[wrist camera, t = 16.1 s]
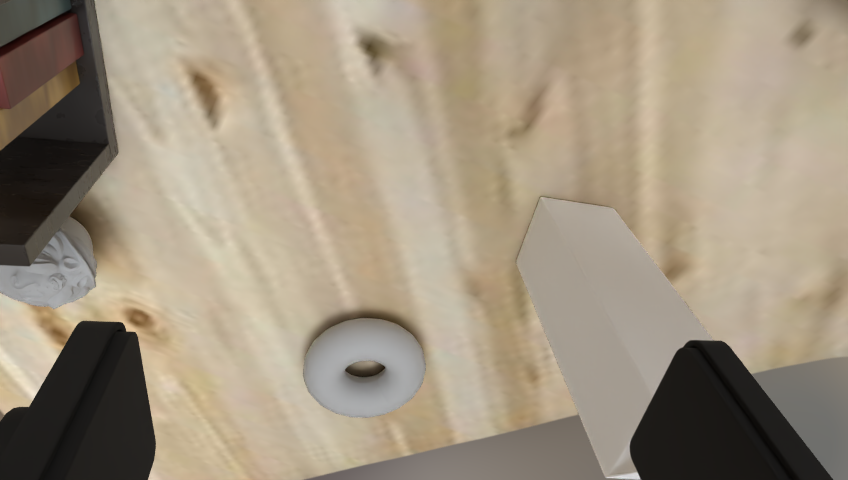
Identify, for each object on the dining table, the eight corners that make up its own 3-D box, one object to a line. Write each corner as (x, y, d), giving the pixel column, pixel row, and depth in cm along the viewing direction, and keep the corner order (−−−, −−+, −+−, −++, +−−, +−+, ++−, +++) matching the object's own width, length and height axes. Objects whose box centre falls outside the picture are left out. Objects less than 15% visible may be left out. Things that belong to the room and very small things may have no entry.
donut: (346, 289, 45) (281, 370, 48) (346, 318, 42) (277, 402, 45) (446, 338, 49) (379, 409, 52) (453, 368, 46) (382, 441, 49)
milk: (584, 270, 46) (740, 543, 28) (513, 261, 45) (628, 542, 26) (614, 205, 43) (812, 466, 25) (539, 193, 41) (689, 460, 23)
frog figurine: (138, 256, 41) (103, 321, 35) (39, 273, 41) (-12, 342, 35) (99, 181, 37) (53, 240, 31) (-9, 199, 37) (-74, 262, 31)
